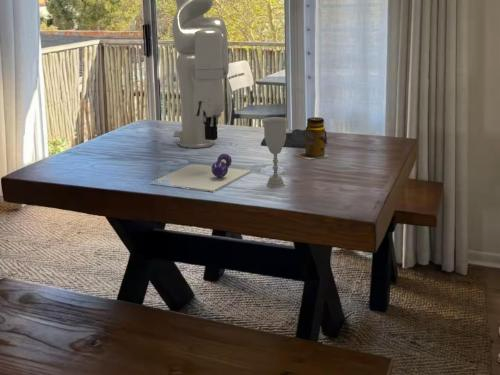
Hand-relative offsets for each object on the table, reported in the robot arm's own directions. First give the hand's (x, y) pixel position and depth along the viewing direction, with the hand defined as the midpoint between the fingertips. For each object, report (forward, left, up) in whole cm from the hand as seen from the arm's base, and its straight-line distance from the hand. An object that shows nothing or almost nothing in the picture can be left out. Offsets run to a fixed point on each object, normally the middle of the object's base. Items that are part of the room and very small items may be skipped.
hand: (211, 139), depth 193 cm
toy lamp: (0, +7, -8) cm, 11 cm away
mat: (0, -6, -10) cm, 12 cm away
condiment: (+19, +31, -10) cm, 38 cm away
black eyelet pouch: (+6, +46, -11) cm, 48 cm away
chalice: (+22, -4, -10) cm, 25 cm away
